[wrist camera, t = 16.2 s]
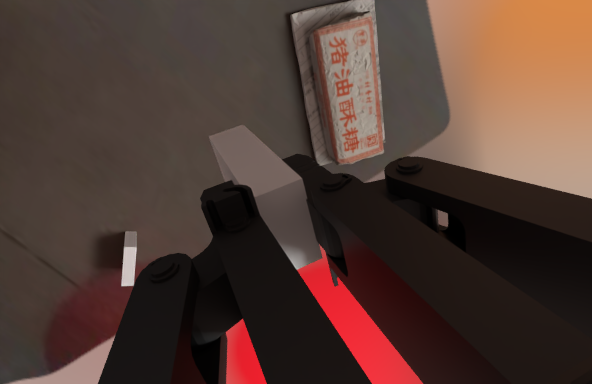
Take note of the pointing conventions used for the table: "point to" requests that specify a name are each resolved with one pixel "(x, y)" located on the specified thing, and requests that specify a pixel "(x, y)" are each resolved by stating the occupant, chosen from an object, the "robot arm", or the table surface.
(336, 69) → the packaged product
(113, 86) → the table surface
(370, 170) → the table surface
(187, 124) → the table surface
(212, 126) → the table surface
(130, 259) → the eraser
